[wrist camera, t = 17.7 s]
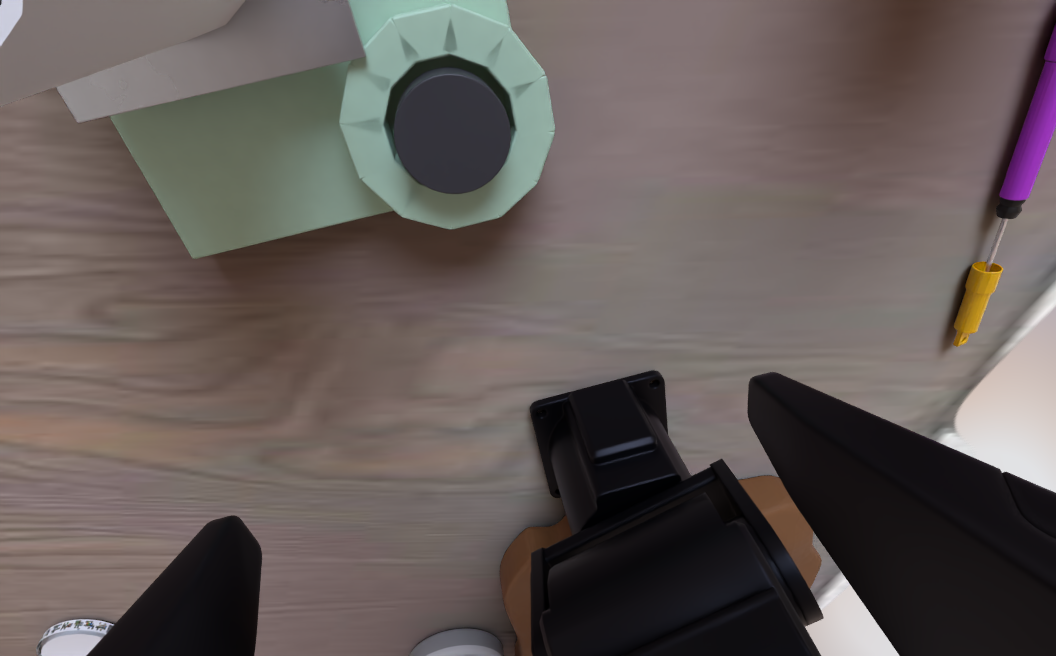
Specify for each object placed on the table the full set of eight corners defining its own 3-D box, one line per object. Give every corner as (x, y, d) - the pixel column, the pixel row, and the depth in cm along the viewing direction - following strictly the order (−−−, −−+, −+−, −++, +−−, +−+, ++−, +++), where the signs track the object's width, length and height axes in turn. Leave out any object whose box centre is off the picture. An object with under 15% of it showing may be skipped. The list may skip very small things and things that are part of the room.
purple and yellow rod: (1063, -21, 19) (940, 342, 28) (1104, -23, 18) (963, 353, 27) (1110, -33, 20) (975, 325, 29) (1151, -35, 19) (1000, 335, 28)
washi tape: (24, 632, 28) (16, 644, 27) (103, 611, 28) (97, 623, 27) (74, 670, 30) (67, 682, 29) (146, 650, 30) (141, 662, 29)
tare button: (513, 166, 17) (521, 180, 16) (414, 190, 17) (413, 206, 16) (490, 55, 15) (497, 60, 14) (380, 81, 15) (376, 88, 14)
